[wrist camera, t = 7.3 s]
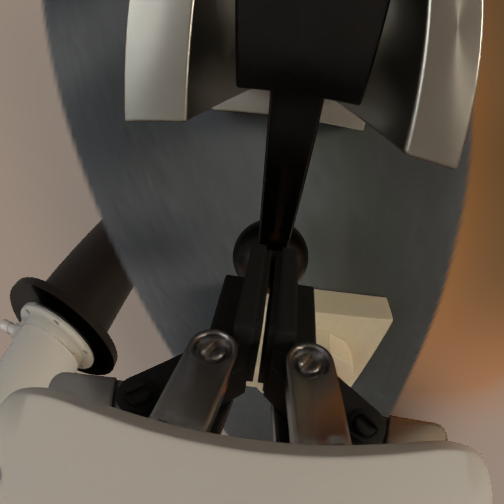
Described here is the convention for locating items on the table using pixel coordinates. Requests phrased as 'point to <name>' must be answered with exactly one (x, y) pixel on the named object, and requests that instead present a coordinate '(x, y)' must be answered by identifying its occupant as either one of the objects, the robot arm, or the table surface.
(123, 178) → the table surface
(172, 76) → the switch bracket
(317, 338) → the beige button base
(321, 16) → the switch
